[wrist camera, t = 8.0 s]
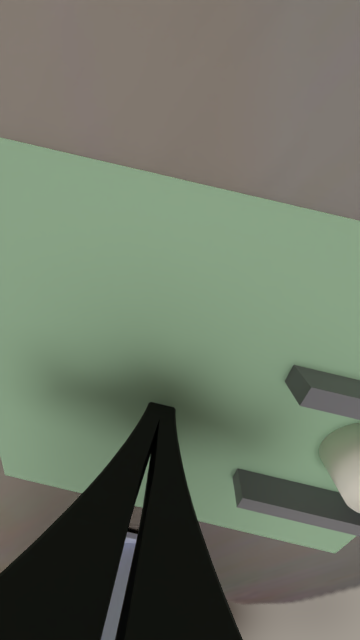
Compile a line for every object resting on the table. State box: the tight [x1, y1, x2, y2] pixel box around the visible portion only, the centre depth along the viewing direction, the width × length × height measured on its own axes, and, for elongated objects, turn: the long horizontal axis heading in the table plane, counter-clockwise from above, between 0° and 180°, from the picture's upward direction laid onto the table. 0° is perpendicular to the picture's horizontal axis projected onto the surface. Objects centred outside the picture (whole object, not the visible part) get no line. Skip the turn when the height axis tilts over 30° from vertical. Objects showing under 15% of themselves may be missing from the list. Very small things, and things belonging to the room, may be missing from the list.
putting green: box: [0, 138, 360, 553], centre depth 11 cm, size 21×26×1 cm
